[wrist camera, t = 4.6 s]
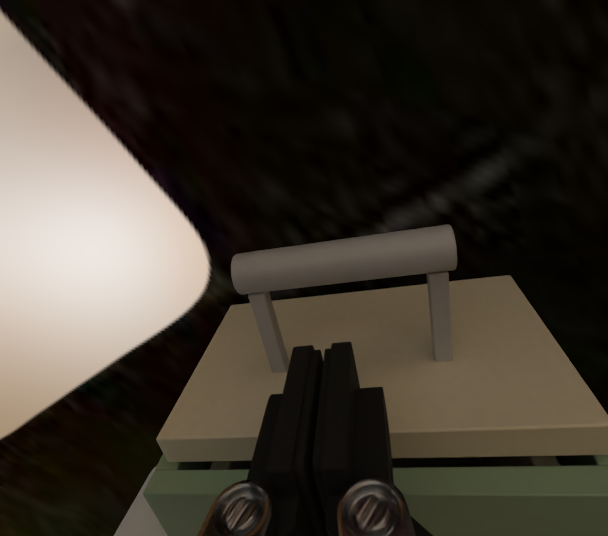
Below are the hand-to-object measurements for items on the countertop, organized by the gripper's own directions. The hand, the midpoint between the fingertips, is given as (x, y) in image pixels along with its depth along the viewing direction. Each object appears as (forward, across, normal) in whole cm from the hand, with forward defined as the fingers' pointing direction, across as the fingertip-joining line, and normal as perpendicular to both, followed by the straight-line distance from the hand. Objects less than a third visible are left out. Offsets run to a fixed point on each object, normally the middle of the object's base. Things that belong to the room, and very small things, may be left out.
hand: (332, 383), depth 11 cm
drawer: (+8, -1, +6) cm, 10 cm away
